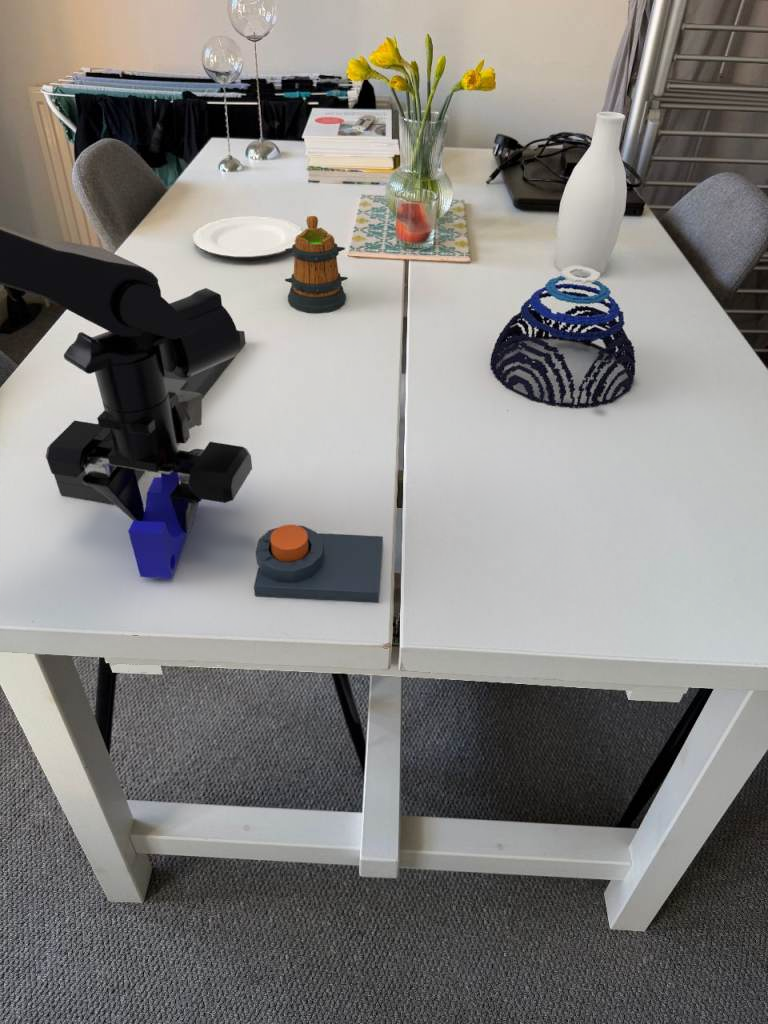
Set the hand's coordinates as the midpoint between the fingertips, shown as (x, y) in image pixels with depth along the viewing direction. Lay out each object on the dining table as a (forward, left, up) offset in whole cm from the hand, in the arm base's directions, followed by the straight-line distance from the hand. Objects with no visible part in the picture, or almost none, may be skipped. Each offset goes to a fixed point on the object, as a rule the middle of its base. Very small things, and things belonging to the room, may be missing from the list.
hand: (164, 525), depth 76 cm
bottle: (+41, +86, -2) cm, 95 cm away
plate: (-21, +80, -2) cm, 83 cm away
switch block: (+17, -1, -2) cm, 17 cm away
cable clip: (0, 0, -1) cm, 1 cm away
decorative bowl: (+39, +47, -2) cm, 61 cm away
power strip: (-11, +23, -2) cm, 26 cm away
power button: (+14, -1, +1) cm, 14 cm away
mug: (-2, +61, -2) cm, 61 cm away
